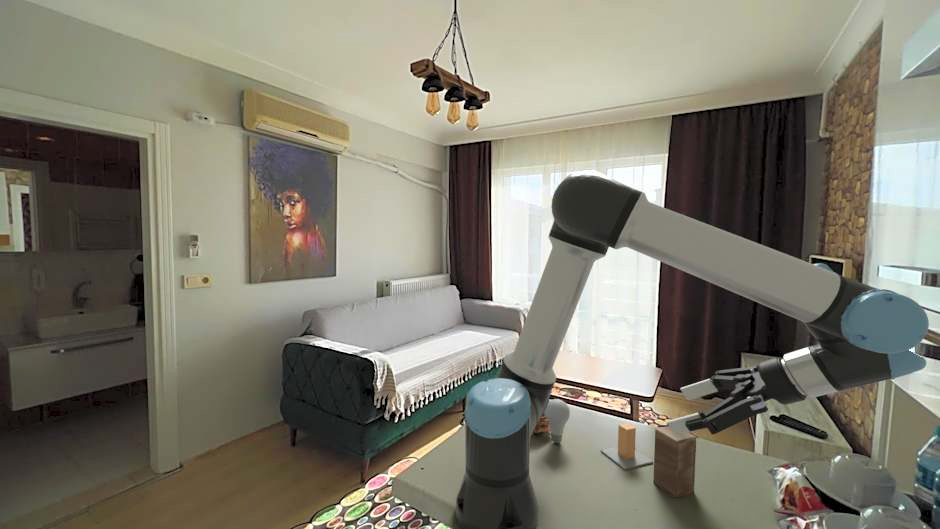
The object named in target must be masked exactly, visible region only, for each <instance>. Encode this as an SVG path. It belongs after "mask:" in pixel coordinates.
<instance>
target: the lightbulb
mask: <svg viewBox="0 0 940 529" xmlns="http://www.w3.org/2000/svg"><path fill="white" fill-rule="evenodd" d="M570 413H571V412H570V407H569V405H568V404H567V402H565V401H564V400H562V399H560V398H554V399H551V400H550V399H549V403H548V406H547V408H546V410H545V416H546V418H547V420H548V422H549V425H550V431H549V432H550V433H551V436H550V437H551V438H550V439H551V441H552V442H553V443H554V444H560V443H561V442H562V440H563V439H562V438H563V434H564V428H565V426H566V423H568V421H569V419H570V415H571V414H570Z"/></svg>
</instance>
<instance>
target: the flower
mask: <svg viewBox="0 0 940 529" xmlns="http://www.w3.org/2000/svg"><path fill="white" fill-rule="evenodd" d="M540 432H542V433H546V434H548V433H549V432H550V425H549V422H548V420H547V418H546V416H545V411H544V412H543V414H542V415H541V417H540V419H539V421H538V423H537V425H536V427H535V429H534V431H533V433H532V435H533V437H534V436H535V435H534V434H540Z"/></svg>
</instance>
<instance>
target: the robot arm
mask: <svg viewBox="0 0 940 529" xmlns="http://www.w3.org/2000/svg"><path fill="white" fill-rule="evenodd" d="M550 208H551V214H552V217H553V223H552V225H551V228H550V230H549V234H548V236H547V237H548V239H549V241H550V244H551V247H552V248H551V250H550V254H549V256H548V258H547V261H546V264H545V266H544V269H543V272H542V274H541V277H540V280H539V281H538V282H539V283H538V286H537V288H536V289H535V290H536V291H535V294H534V296H533V298H532V299H533V300H532V302H531V304H530V307H529V309H528V313H527V315H526V319H525V321H524V324H523V326H522V329H521V332H520V334H519V337H518V339H517V342H516V345H515V348H514V350H513V352H509V353H507V354H506V355H504V356H503V360H502V362H501V365H500V366H499V370H498V373H497V376H496V377H495V378H490V379H487V381H486V380H485V381H484V380H483V381H480V382H478V383H476V384H475V385H473V386H471V388H470V389H469V391H468V392H467V395H466V401H465V402H466V403H465V408H464V418H465V419H464V420H465V422H464V424H465V433H464V434H465V472H464V475H463V478H462V480H461V484H460V487H459V489H458V492H457V495H456V500H455V518H456V521H457V523H458V525H459V527H460V528H461V529H536V528H537V525H538V522H539V502H538V497H537V495H536V493H535V489H534V486H533V482H532V479H531V476H530V444H531V443H530V442H531V437H532V435H533V434H532V433H533V431H534V429H535V427H536V425H537V423H538V421H539V419H540V417H541V415H542V414H543V412H544V411H545V410H546V408H547V406H548V403H549V401H550V398H551V397H550V396H551V393H552V390H553V388H554V386H555V383H556V381H557V375H556V373H555V371H554V369H553V367H554V365H555V362H556V359H557V357H558V354H559V352H560V350H561V347H562V345H563V342H564V340H565V337H566V334H567V332H568V329H569V328H570V324H571V322H572V319H573V317H574V314H575V312H576V309H577V307H578V304H579V302H580V299H581V296H582V294H583V291H584V289H585V287H586V283H587V281H588V278H589V277H590V274H591V271H592V269H593V266H594V263H595V262H596V261H598V260H600V259H602V258H604V257H606V255H607V253H608V251H609V248H612V249H614V250H619V249H622V248H628V249H630V250H632V251H635V252H637V253H640V254H643V255H644V256H647V257H650V258H652V259H653V260H656V261H658V262H661V263H663V264H666V265H668V266H670V267H673V268H676V269H678V270H680V271H683V272H684V273H687V274H689V275H692V276H694V277H697V278H699V279H701V280H704V281H706V282H707V283H708V282H709V283H710V284H712V285H715V286H718V287H720V288H723V289H725V290H727V291H730V292H732V293H734V294H736V295H738V296H742V297H744V298H746V299H749V300H751V301H753V302H756V303H757V304H758V303H759V304H760V305H762V306H765V307H767V308H769V309H772V310H775V311H777V312H780V313H782V314H784V315H786V316H789V317H791V318H794V319H796V320H798V321H800V322H802V324H804V326H805V327H806V328H807V330H808V331H809V332H810V333H811V335H812V336H813V338H814V340H816V342H817V344H814V345H810V346H807V347H806V346H805V347H804V348H800V349H797V350H794V351H791V352H787V353H785V354H784V355H783V357H778V356H776V357H773V358H769V359H767V360H764V361H761V362H759V363H758V364H755V365H751V366H746V367H738V368H729V369H722V370H721V369H720V370H717V371H715V375H713V376H711V378H707V379H704V380H701V381H698V382H695V383H694V382H693V383H692V384H689V385H685V386H682V387H680V391H681V393H682V394H683V395H684V397H685V398H686V401H690V400H695V399H697V398H701V397H704V396H707V395H711V394H714V393H718V392H720V393H721V392H723V391H724V390H728V391H729V390H730V391H731V392H730V394H729V397H727V398H726V399H724V400H723V401H721V402H719V403H718V404H717V405H715V406H713V407H712V408H710V409H709V410H707V411H705V412H703V411H701V410H699V411H698V412H696V413H692V414H688V415H684V416H681V417H676V418H673V419H668V420H667V422H666V423H667V426H670V428H671V429H672V431H673V432H674V434H675V435H680V434H684V433H688V432H689V433H692V432H696V431H700V430H704V429H707V430H708V431H709V433H710V434H711V435H716V434H718V433H720V432H723V431H724V430H727V429H729V428H730V427H733V426H734V425H737V424H739V423H741V422H743V421H746V420H747V419H750V418H751V417H753V416H755V415H760V414H763V413H766V412H769V408H768V406H767V405H766V402H767V401H770V400H775V401H776V402H777V403H779V404H781V405H783V406H787V405H791V404H795V403H798V402H802V401H806V399H807V397H809V398H811V399H814V398H817V397H821V396H825V395H828V396H834V395H835V393H837V392H841V391H846V390H850V389H853V388H858V387H862V386H867V385H870V384H875V383H879V382H884V381H887V380H890V381H892V380H895V379H897V378H900V377H904V376H907V375H911V374H913V373H916V372H919V371H921V370H923V369H925V368H926V366H927V360H926V358H925V357H924V356H923V357H924V358H925V359H924V358H923V357H920V356H918V355H916V354H914V353H913V352H911V351H909V349H911V348H913V347H915V346H916V347H917V346H918V345H919V344H920V343H921V342H922V341H923V340H924V339H925V336H926V335H927V334H928V330H929V328H930V327H929V324H930V323H929V322H930V321H929V318H928V315H927V313H926V311H925V309H924V308H923V306H921V305H920V303H918V302H917V301H916V300H914V299H912V298H910V297H909V296H906V295H903V294H900V293H897V292H895V291H893V290H890V289H880V288H877V287H873V286H871V285H868V284H866V283H863V282H860V281H857V280H856V279H852V278H850V277H847V276H845V275H841V274H838V273H837V272H834V270H832V268H830V267H829V266H828V265H827V264H825V263H819V262H818V263H811V262H807V261H805V260H803V259H800V258H797V257H795V256H792V255H789V254H787V253H785V252H782V251H780V250H776V249H774V248H771V247H769V246H766V245H763V244H761V243H758V242H755V241H753V240H751V239H747V238H744V237H743V236H740V235H737V234H735V233H732V232H729V231H727V230H724V229H721V228H718V227H716V226H713V225H711V224H707V223H706V222H703V221H699V220H697V219H695V218H692V217H690V216H686V215H685V214H681V213H679V212H677V211H673V210H671V209H668V208H665V207H663V206H660V205H658V204H656V203H653V202H650V201H649V200H648V198H647V195H646V193H645V192H643V191H641V190H638V189H636V188H633V187H630V186H628V185H626V184H624V183H621V182H619V181H617V180H616V179H613V178H611V177H609V176H608V175H606V174H603V173H601V172H597V171H594V170H583V171H578V172H574V173H572V174H570V175H568V176H567V177H566V178H564V179H563V180H562V181H561V182H560V183H559V184H558V185H557V187H556V189H555V190H554V193H553V196H552V198H551V207H550Z"/></svg>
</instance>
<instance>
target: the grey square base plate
mask: <svg viewBox="0 0 940 529" xmlns="http://www.w3.org/2000/svg"><path fill="white" fill-rule="evenodd" d="M636 431H637V430H636V427H635V426H633V425H631V424H630V423H629V422H625V423H620V424H618V430H617V432H618V435H617V438H618V440H617V445H615V446H612V447H608V448H604V449H600V452H601V453H602V454H604V455H605V456H606V457H607V458H608V459H610V460H611V461H612V462H614V463H615V464H616V465H618V466H619V467H620V468H622V469H623V470H624V471H626V470H630V469H635V468H638V467H642V466H647V465H651V464H654V460H651V459H650V458H649V457H647V456H646V455H644V454H643V453H642V452H640V451H639V450H637V449H636Z"/></svg>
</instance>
